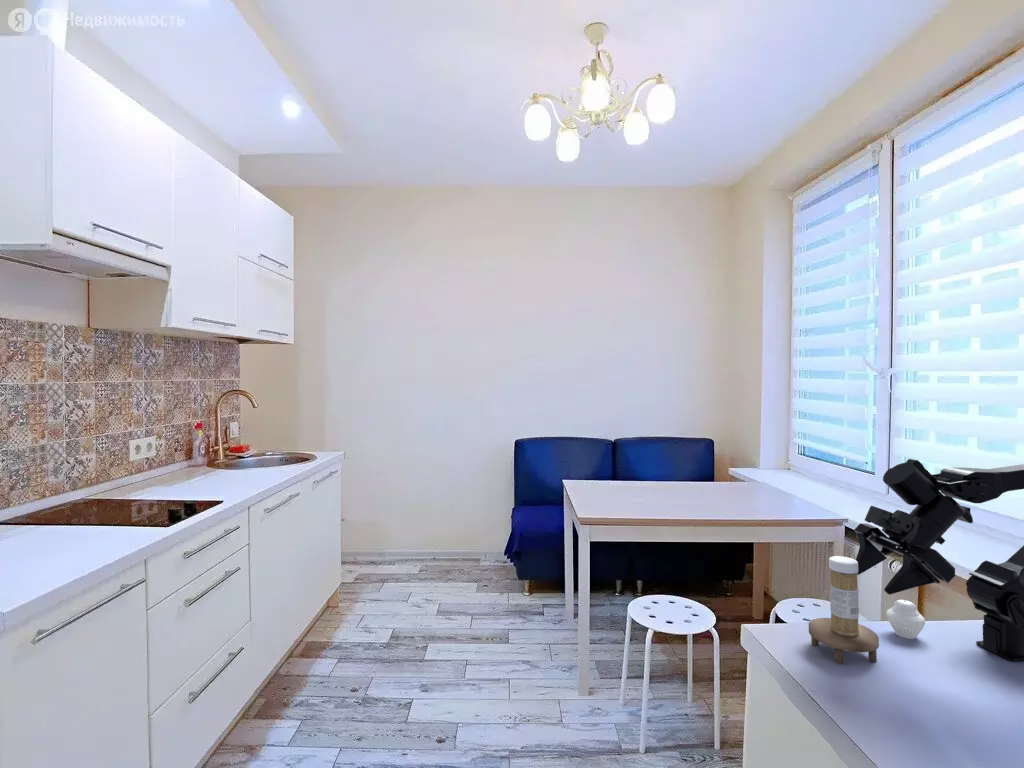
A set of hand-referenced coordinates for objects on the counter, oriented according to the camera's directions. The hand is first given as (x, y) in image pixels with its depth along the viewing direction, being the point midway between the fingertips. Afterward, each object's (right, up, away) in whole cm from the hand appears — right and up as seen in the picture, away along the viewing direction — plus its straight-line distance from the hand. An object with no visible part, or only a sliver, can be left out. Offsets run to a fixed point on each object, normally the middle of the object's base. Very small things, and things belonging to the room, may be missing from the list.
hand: (869, 582), depth 96 cm
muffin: (+12, -13, +6) cm, 19 cm away
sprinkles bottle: (-5, -9, -1) cm, 10 cm away
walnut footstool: (-5, -13, 0) cm, 14 cm away
